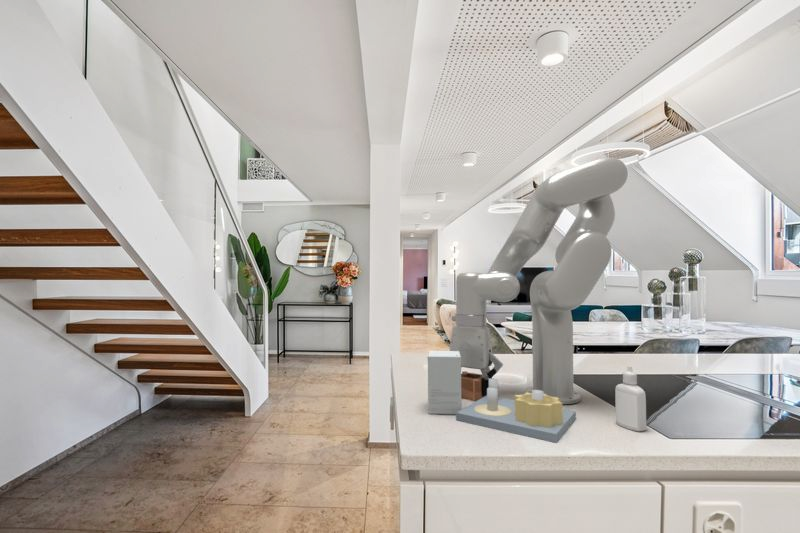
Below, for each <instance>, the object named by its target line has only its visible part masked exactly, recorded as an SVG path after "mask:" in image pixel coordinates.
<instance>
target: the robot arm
mask: <svg viewBox="0 0 800 533" xmlns="http://www.w3.org/2000/svg"><path fill="white" fill-rule="evenodd" d="M628 176H629V175H628V168H627V166H626V163H624V162H623V161H622V160H621V159H619V158H616V157H612V156H611V157H610V156H607V157H606V156H605V157H601V158H598V159H595V160H592V161H588V162H587V163H583V164H580V165H577V166H574V167H572V168H569V169H566V170H563V171H560V172H556V173H554V174H552V175H550V176H549V177H548V178H546V179H545V180H544V181H543V182H541V183H540V184H539V185H538V186H537V187H536V188H535V190H534V191H533V193H532V195H531V197H530V198H529V200H528V203H527V204H526V206H525V208H524V209H523V211H522V213H521V215H520V217H519V219H518V220H517V221H516V224H515V226H514V227H513V228H512V230H511V233H510V234H509V236H508V237H507V239H506V241H505V242H504V244H503V246H502V247H501V249H500V250H499V252H498V254H497V255H496V257H495V259H494V260H493V262H492V265H491V266H490V267H489V269H488V271H487V273H481V272H462V273H461V272H460V273H458V274H457V275H456V278H455V279H456V280H455V281H456V284H455V286H456V288H455V289H456V291H455V293H456V296H455V297H456V299H455V300H456V303H455V306H456V308H455V309H456V311H455V312H456V313H455V315H452V317H451V321H452V322H455V325H453V326H452V330H451V334H450V335H451V336H450V345H449V351H459V353H460V356H461V368H468V369H474V370H479V371H480V372H481V373H480V374H482V375H483V377H484V379H483V380H482V395H483V396H486V395H487V388H489V379H490V378H493V377H494V376H495V375H496V374H497V373H498V372H499V370H500V369H501V368H502V367H503V366H504V364H503V362H502V361H501V360H499V358H498V357H496V356H495V355H494V353H493V344H492V338H491V332H490V327H487V301H490V302H491V301H493V302H498V303H509V302H511V301H513V300H514V299H516V298H517V297H518V295H519V294H520V291H521V283H520V281H519V279H518V278H517V277H518V276H519V274H520V272H521V271H522V269H523V268H524V266H525V265H526V264H527V263H528V261H530V260H531V258H533V257H534V256H535V255H536V254H537V253H538V252H540V250H542V248H543V247H544V246H545V244H546V243H547V240H548V238H549V236H550V235H551V232H552V231H553V229H554V228H555V226H556V224H557V222H558V221H559V218H560V217H561V214H562V213H563V211H564V209H568V208H569V207H572V206H575V205H577V204H578V207H579V209H578V212H577V215H576V217H575V219H574V221H573V223H572V224H571V226H570V227H569V229H568V230H567V232H566V234H565V235H564V236H563V238H562V239H561V240H560V242H559V243H558V246H557V247H556V249H555V257H554V258H555V261H556V263H557V265H556V267H555V268H554V269H553V270H547V271H546V270H545V271H542V272H541V273H539V274H537V275H536V276H535V277H534V278H533V280H532V281H531V284H530V288H529V298H530V299H529V300H530V306H531V307H530V308H531V319H532V387H529V388H527V389H526V391H525V393H532V390H541V391H543V392H544V394H546V395H548V396H551V397H557V398H559V402H561V403H562V405H572V404H573V405H574V404H577V403H579V402H580V401H581V395H580V393H579V392H578V391H574V390H575V389H574V325H573V324H574V323H573V316H572V310H575V309H577V308H579V307H581V305H582V304H583V303H584V302H585V301H586V300H587V298H588V297H589V295H590V294H591V293H592V291H593V289H594V287H595V286H596V284H597V283H598V281H599V280H600V279H601V276H602V275H603V274H604V272H605V270H606V268H607V267H608V265H609V263H610V261H611V257H612V246H611V242H610V240H609V238H607V236H608V234H609V233H610V231H611V229H612V227H613V224H614V222H615V219H616V218H615V216H616V213H615V212H616V211H615V206H614V203H613V198H612V197H611V194H614V193H616V192H617V191H619V190H620V189H621V188H623V186H624V185H625V184H626V182H627V180H628ZM492 365H493V368H492V369H491V368H490V367H491V366H492Z"/></svg>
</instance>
